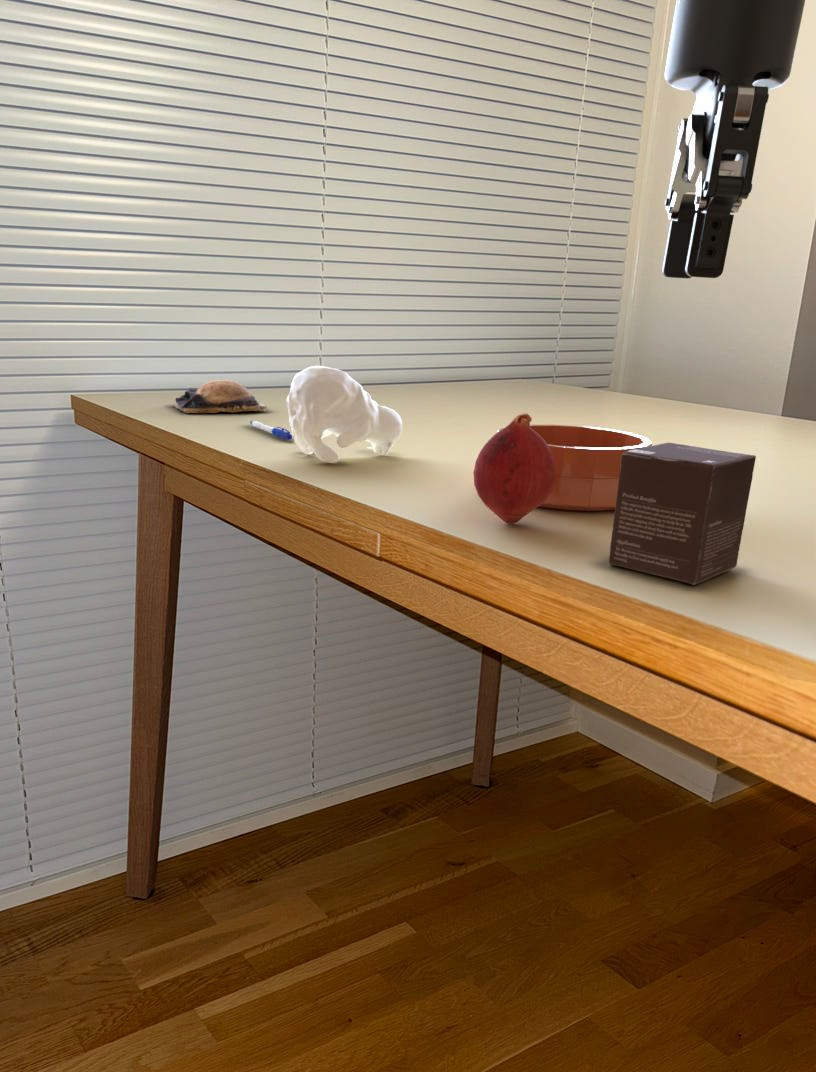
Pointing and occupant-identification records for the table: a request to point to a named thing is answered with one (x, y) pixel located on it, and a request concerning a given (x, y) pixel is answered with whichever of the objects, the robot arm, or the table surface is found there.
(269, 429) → the ballpoint pen
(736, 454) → the box
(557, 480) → the bowl
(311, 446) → the white animal figurine
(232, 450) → the table surface
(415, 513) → the table surface
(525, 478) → the onion
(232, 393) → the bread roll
